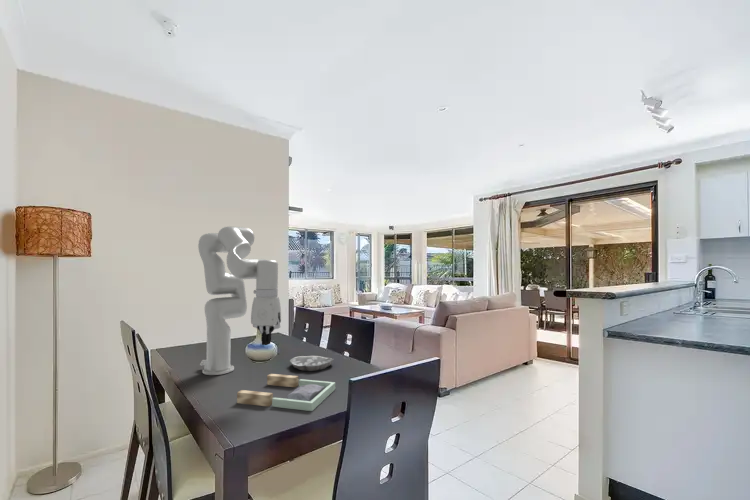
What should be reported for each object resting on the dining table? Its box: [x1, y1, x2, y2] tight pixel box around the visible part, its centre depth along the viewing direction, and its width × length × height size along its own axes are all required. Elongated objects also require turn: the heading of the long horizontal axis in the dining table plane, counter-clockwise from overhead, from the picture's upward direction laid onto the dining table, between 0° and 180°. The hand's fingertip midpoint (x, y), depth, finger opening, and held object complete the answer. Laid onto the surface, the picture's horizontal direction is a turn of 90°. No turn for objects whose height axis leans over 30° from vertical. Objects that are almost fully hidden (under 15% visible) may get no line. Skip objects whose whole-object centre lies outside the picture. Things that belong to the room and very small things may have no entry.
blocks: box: [236, 373, 300, 407], centre depth 129 cm, size 12×21×4 cm, turn 165°
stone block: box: [286, 384, 324, 401], centre depth 125 cm, size 12×5×10 cm
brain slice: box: [289, 355, 335, 372], centre depth 162 cm, size 20×17×3 cm
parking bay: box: [271, 378, 336, 412], centre depth 126 cm, size 14×20×2 cm
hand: (266, 344), depth 131 cm, fingers closed
